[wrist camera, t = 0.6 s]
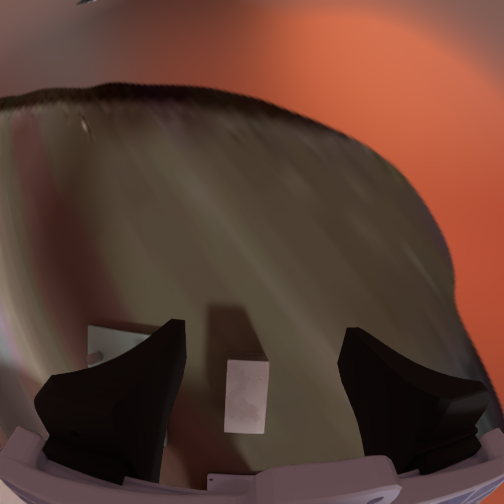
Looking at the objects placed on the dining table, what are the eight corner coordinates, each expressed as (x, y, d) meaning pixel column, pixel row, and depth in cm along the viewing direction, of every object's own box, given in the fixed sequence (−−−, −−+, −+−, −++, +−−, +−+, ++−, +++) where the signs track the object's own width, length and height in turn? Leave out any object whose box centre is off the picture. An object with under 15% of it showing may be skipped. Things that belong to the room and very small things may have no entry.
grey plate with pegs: (167, 442, 29) (161, 455, 25) (95, 426, 28) (84, 436, 25) (167, 336, 31) (159, 340, 28) (91, 324, 31) (77, 326, 27)
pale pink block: (259, 416, 30) (263, 433, 25) (225, 414, 30) (224, 432, 25) (264, 352, 31) (269, 361, 27) (228, 350, 31) (227, 359, 26)
